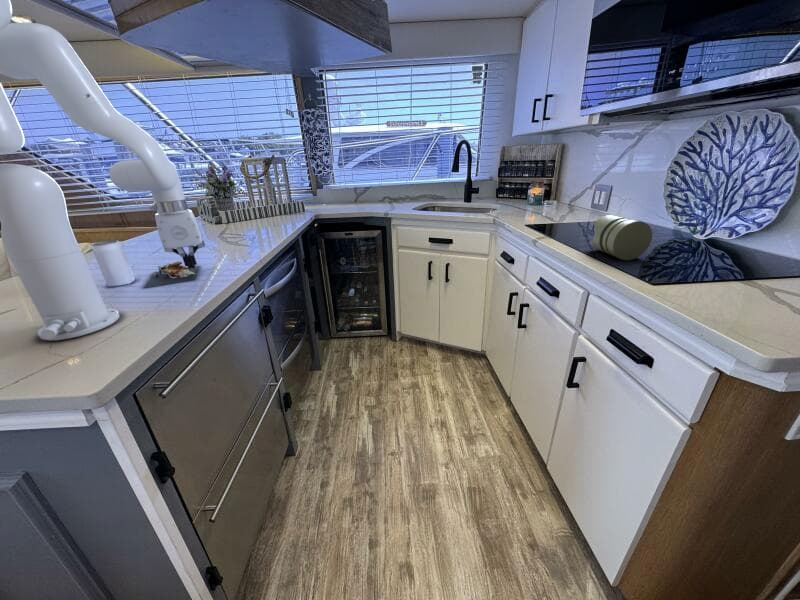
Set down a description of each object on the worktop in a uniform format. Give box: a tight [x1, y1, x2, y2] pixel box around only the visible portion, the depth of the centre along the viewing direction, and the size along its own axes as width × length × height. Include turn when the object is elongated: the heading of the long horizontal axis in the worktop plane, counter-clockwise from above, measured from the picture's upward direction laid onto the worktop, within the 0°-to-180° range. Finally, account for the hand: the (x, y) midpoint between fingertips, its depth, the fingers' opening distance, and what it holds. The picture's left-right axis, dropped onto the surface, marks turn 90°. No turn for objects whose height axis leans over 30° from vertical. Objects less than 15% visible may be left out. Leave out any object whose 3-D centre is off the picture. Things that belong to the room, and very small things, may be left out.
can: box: [91, 239, 136, 288], centre depth 91 cm, size 6×6×12 cm
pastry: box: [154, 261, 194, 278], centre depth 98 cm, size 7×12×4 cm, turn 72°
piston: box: [588, 214, 653, 261], centre depth 98 cm, size 11×12×11 cm
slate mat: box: [143, 265, 199, 289], centre depth 98 cm, size 16×12×1 cm
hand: (192, 267), depth 100 cm, fingers closed
